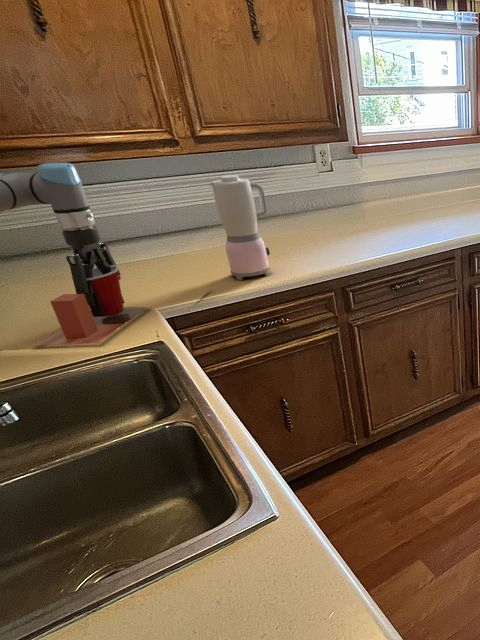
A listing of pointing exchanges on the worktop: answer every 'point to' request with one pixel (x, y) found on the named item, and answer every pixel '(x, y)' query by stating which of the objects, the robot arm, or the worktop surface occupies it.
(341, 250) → the worktop surface
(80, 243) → the robot arm
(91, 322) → the terracotta block
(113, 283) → the plastic cup
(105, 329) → the sorting board
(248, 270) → the blender
